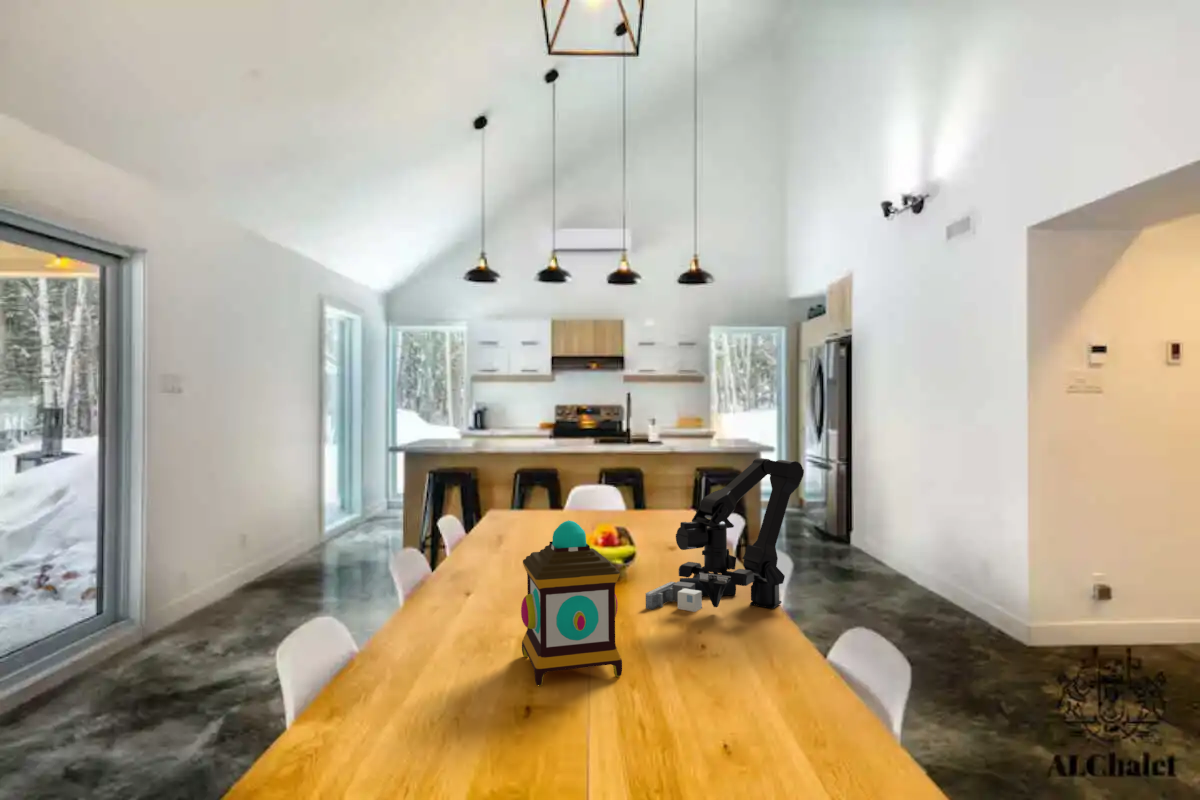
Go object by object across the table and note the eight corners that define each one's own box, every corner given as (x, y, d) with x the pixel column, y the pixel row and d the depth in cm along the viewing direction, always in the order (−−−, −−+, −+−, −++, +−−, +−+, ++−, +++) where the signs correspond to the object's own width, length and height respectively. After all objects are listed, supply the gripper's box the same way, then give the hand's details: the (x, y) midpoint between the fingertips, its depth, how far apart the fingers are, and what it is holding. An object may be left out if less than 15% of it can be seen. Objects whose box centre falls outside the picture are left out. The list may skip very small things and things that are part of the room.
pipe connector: (675, 569, 202) (725, 568, 203) (675, 587, 202) (725, 586, 203) (682, 580, 191) (736, 578, 192) (682, 599, 191) (736, 598, 192)
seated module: (695, 599, 189) (695, 583, 189) (690, 603, 186) (690, 586, 186) (678, 597, 191) (677, 581, 191) (672, 601, 188) (672, 584, 188)
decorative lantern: (530, 691, 130) (528, 532, 130) (514, 654, 149) (513, 515, 149) (631, 679, 135) (630, 526, 135) (603, 645, 154) (602, 510, 154)
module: (701, 608, 182) (701, 591, 182) (694, 612, 178) (694, 594, 178) (684, 605, 184) (684, 588, 184) (677, 609, 181) (677, 591, 181)
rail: (680, 597, 191) (680, 583, 191) (655, 610, 180) (655, 594, 180) (671, 595, 193) (671, 581, 193) (645, 608, 181) (645, 593, 181)
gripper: (761, 544, 178) (762, 605, 178) (696, 536, 189) (696, 594, 189) (745, 552, 169) (745, 616, 169) (677, 544, 180) (677, 604, 180)
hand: (715, 606), depth 177 cm, fingers closed
